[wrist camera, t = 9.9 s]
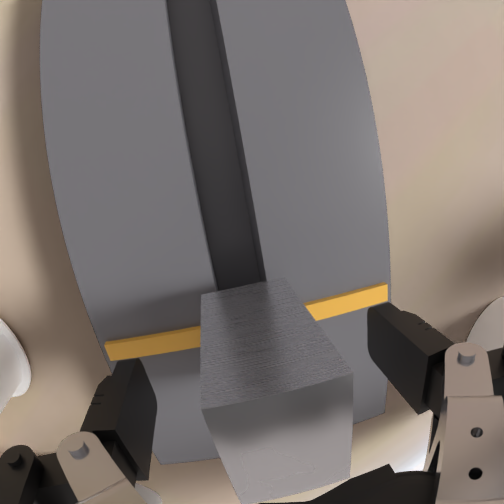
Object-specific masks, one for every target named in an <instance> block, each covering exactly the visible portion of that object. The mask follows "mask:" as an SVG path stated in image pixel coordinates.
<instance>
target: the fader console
mask: <svg viewBox="0 0 504 504" xmlns="http://www.w3.org/2000/svg"><path fill="white" fill-rule="evenodd" d="M40 84H41V101H42V114H43V124H44V133H45V141H46V149H47V156H48V162H49V169H50V175H51V180H52V186H53V191H54V196H55V201H56V206H57V210H58V215H59V219H60V223H61V227H62V231H63V235H64V239H65V243H66V247H67V250H68V254H69V258H70V261H71V264H72V268H73V271H74V274H75V278H76V281H77V284H78V287H79V290H80V293H81V296H82V299H83V302H84V305H85V308H86V310H87V313H88V316H89V319H90V321H91V324H92V327H93V329H94V332H95V334H96V337H97V339H98V342H99V344H100V347H101V349H102V352H103V354H104V356H105V359H106V361H107V363H108V365H109V368H110V370H111V372H112V374H113V371H114V368H115V366H116V363H117V362H118V361H120V360H127V359H134V358H139V359H140V360H141V362H142V364H143V366H144V368H145V371H146V373H147V376H148V378H149V381H150V383H151V385H152V388H153V390H154V392H155V395H156V399H157V416H156V423H155V430H154V437H153V445H152V451H153V453H154V454H155V456H156V458H157V459H158V461H159V462H160V464H173V463H184V462H193V461H201V460H208V459H215V458H220V456H219V453H218V451H217V449H216V446H215V444H214V441H213V439H212V436H211V434H210V431H209V429H208V426H207V424H206V421H205V419H204V416H203V414H202V411H201V379H200V336H201V294H206V293H211V292H216V291H221V290H226V289H231V288H236V287H240V286H245V285H250V284H254V283H259V282H264V281H268V280H273V279H277V278H282V277H284V278H285V279H286V281H287V282H288V283H289V285H290V286H291V287H292V289H293V290H294V292H295V293H296V294H297V296H298V297H299V298H300V300H301V301H302V302H303V304H304V305H305V307H306V308H307V309H308V311H309V312H310V313H311V315H312V316H313V318H314V319H315V320H316V322H317V323H318V324H319V326H320V327H321V328H322V330H323V331H324V333H325V334H326V335H327V337H328V338H329V339H330V341H331V342H332V344H333V345H334V346H335V348H336V349H337V351H338V352H339V353H340V355H341V356H342V357H343V359H344V360H345V362H346V363H347V364H348V366H349V367H350V368H351V370H352V371H353V424H356V423H359V422H362V421H364V420H367V419H370V418H372V417H375V416H378V415H380V414H383V413H384V412H385V403H386V393H387V382H388V378H387V377H386V376H385V375H384V374H383V372H382V371H381V370H380V369H379V368H378V367H377V365H376V364H375V363H374V362H373V361H372V359H371V357H370V355H369V352H368V346H367V311H368V308H370V307H373V306H376V305H379V304H382V303H386V302H390V303H391V275H390V248H389V231H388V217H387V206H386V195H385V186H384V177H383V169H382V161H381V154H380V147H379V141H378V134H377V128H376V123H375V117H374V112H373V106H372V101H371V96H370V91H369V87H368V82H367V78H366V73H365V69H364V65H363V61H362V57H361V53H360V49H359V45H358V41H357V38H356V34H355V31H354V27H353V24H352V20H351V17H350V14H349V11H348V7H347V4H346V1H345V0H42V10H41V26H40Z"/></svg>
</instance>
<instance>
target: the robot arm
mask: <svg viewBox="0 0 504 504" xmlns="http://www.w3.org/2000/svg"><path fill="white" fill-rule="evenodd" d="M367 346H368V352H369V355H370V357H371V359H372V361H373V362H374V363H375V364H376V365H377V367H378V368H379V369H380V370H381V371H382V372H383V374H384V375H385V376H386V377H387V378H388V380H389V381H390V382H391V383H392V384H393V385H394V387H395V388H396V389H397V390H398V391H399V393H400V394H401V395H402V396H403V397H404V399H405V400H406V401H407V402H408V403H409V405H410V406H411V407H412V408H413V409H414V411H415V412H416V413H417V414H418V415H419V414H421V413H423V412H425V411H427V410H430V409H431V411H432V412H433V416H432V420H431V428H430V435H429V442H428V449H427V455H426V460H425V465H424V469H423V471H406V472H398V473H394V471H393V469H392V468H391V466H390V465H389V464H387V465H385V466H383V467H380V468H378V469H375V470H373V471H370V472H368V473H365V474H362V475H360V476H357V477H354V478H351V479H349V480H348V481H346V482H344V483H342V484H341V485H339V486H337V487H336V488H334V489H332V490H330V491H328V492H327V493H325V494H323V495H321V496H319V497H317V498H315V499H313V500H311V501H306V502H289V503H259V504H504V345H503V347H502V348H498V349H494V350H490V351H486V350H485V349H484V348H483V347H481V346H479V345H477V344H474V343H469V342H462V343H457V344H454V343H453V342H452V341H450V340H449V339H448V338H446V337H445V336H444V335H442V334H441V333H440V332H438V331H437V330H436V329H434V328H432V326H430V325H429V324H428V323H425V321H424V320H422V319H421V318H420V317H418V316H417V315H415V314H412V313H409V312H406V311H400V310H399V309H398V308H396V307H395V306H394V305H392V304H391V303H390V302H386V303H382V304H379V305H376V306H373V307H370V308H368V311H367ZM94 396H95V397H93V399H92V402H91V405H90V407H89V409H88V412H87V414H86V417H85V419H84V422H83V424H82V427H81V430H80V432H77V433H73V434H71V435H69V436H67V437H66V438H65V439H63V440H62V441H61V443H60V444H59V446H58V448H57V452H56V453H52V454H48V455H43V456H38V457H37V456H36V455H35V453H34V452H33V451H32V450H31V448H29V447H28V446H25V445H17V446H13V447H11V448H9V449H8V450H7V451H5V452H4V453H3V455H2V456H1V458H0V504H147V503H146V502H145V500H144V499H143V498H142V497H141V496H140V494H139V493H138V492H137V491H136V490H135V483H136V481H142V480H148V479H149V470H150V462H151V453H152V445H153V437H154V430H155V423H156V416H157V399H156V395H155V392H154V390H153V388H152V385H151V383H150V381H149V378H148V376H147V373H146V371H145V368H144V366H143V364H142V362H141V360H140V359H139V358H134V359H127V360H120V361H118V362H117V363H116V366H115V368H114V371H113V374H112V376H107V377H106V378H105V379H104V380H103V381H102V382H101V383H100V384H99V385H98V387H97V390H96V392H95V394H94Z"/></svg>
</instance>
